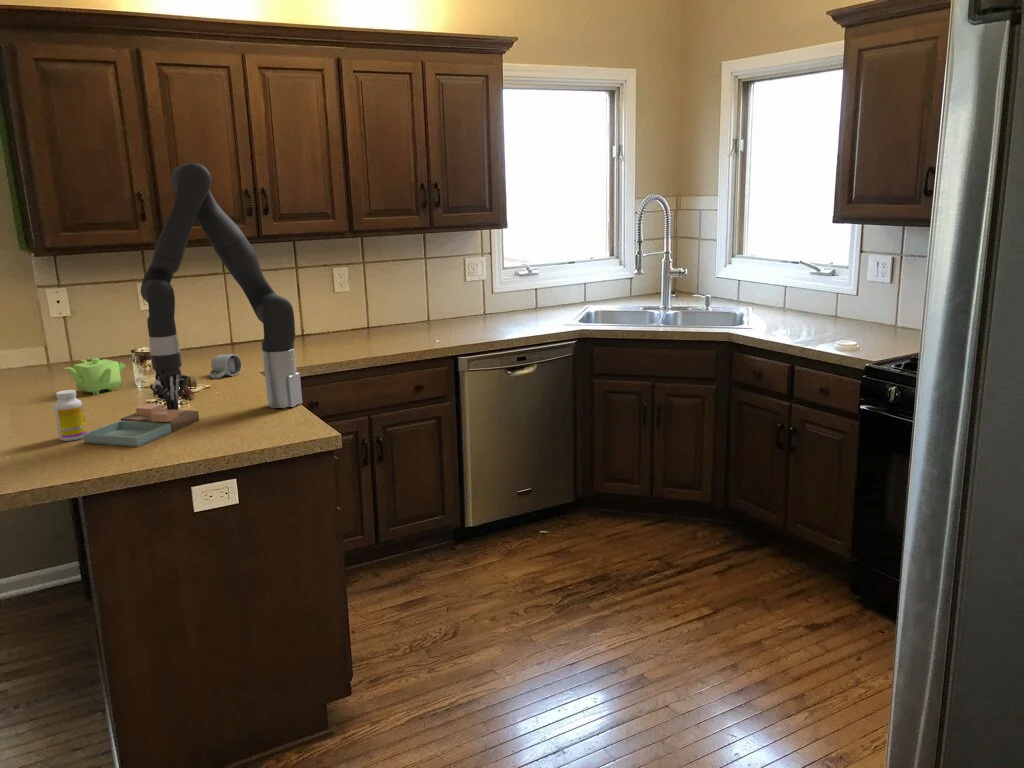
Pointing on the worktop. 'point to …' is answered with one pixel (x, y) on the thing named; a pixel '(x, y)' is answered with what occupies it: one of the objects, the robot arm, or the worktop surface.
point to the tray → (127, 433)
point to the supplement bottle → (69, 416)
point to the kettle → (97, 375)
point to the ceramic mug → (225, 365)
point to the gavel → (190, 383)
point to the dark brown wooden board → (178, 423)
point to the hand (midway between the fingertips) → (173, 412)
